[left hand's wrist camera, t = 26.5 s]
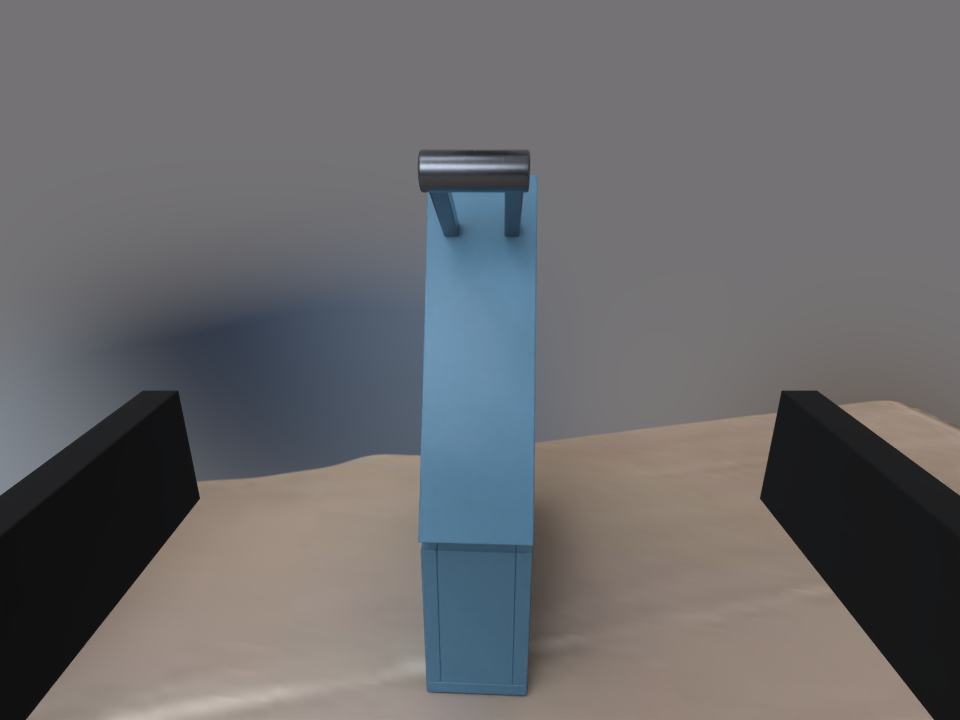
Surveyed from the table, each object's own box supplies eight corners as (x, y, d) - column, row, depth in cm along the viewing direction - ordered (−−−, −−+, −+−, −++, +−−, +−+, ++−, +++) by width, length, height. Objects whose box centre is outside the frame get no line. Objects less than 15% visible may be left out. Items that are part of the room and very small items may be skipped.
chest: (454, 504, 45) (452, 400, 42) (519, 506, 45) (522, 401, 41) (426, 692, 29) (420, 550, 26) (526, 696, 29) (532, 553, 26)
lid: (431, 183, 28) (400, 87, 20) (536, 183, 28) (550, 87, 20) (421, 537, 27) (384, 595, 18) (532, 540, 26) (545, 600, 18)
